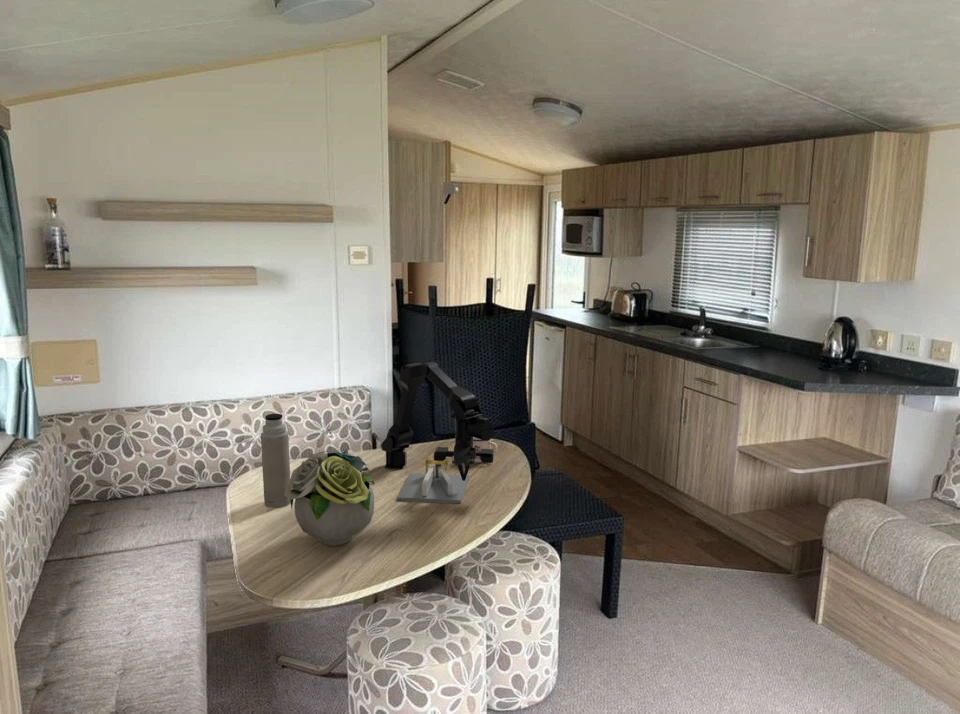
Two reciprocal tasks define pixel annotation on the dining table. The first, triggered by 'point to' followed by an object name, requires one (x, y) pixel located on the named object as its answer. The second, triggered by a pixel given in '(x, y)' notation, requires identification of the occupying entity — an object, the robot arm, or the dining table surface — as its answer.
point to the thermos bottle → (275, 461)
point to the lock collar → (432, 461)
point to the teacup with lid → (482, 446)
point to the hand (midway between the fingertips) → (464, 480)
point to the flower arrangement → (331, 496)
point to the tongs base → (432, 488)
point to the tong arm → (445, 481)
